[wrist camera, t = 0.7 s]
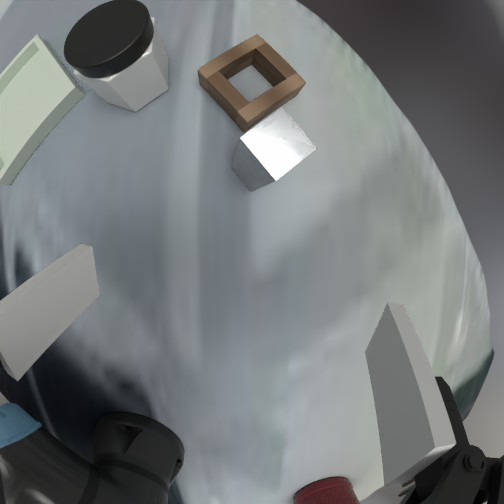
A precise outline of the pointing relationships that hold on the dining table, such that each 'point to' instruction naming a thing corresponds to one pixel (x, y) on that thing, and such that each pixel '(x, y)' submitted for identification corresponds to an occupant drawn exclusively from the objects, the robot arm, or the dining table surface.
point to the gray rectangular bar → (270, 150)
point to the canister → (327, 492)
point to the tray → (31, 104)
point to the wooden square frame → (266, 63)
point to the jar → (119, 54)
